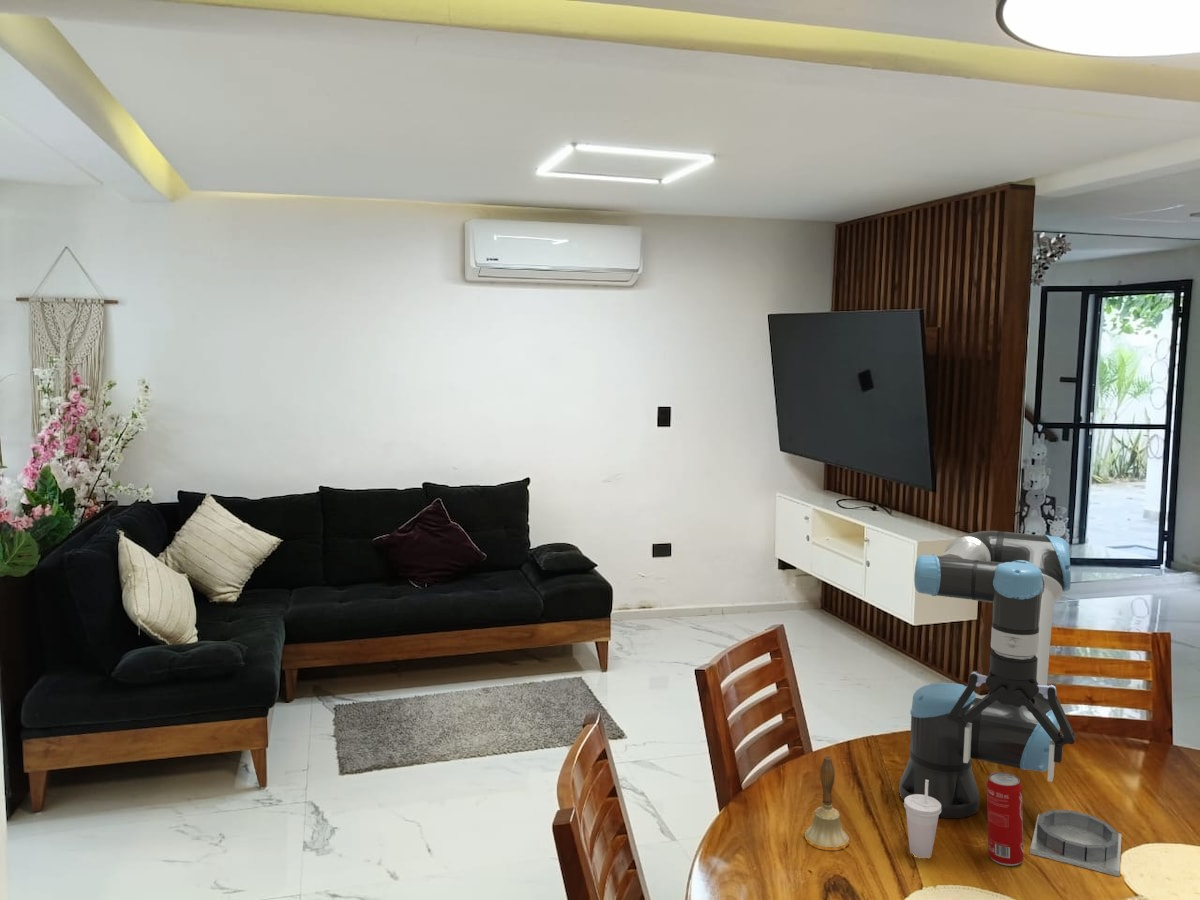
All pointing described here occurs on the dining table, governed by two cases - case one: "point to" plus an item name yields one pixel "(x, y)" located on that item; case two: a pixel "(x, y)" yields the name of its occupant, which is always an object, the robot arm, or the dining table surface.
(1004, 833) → the beverage can
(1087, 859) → the collar
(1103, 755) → the dining table surface
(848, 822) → the dining table surface
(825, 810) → the hand bell
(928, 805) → the smoothie
